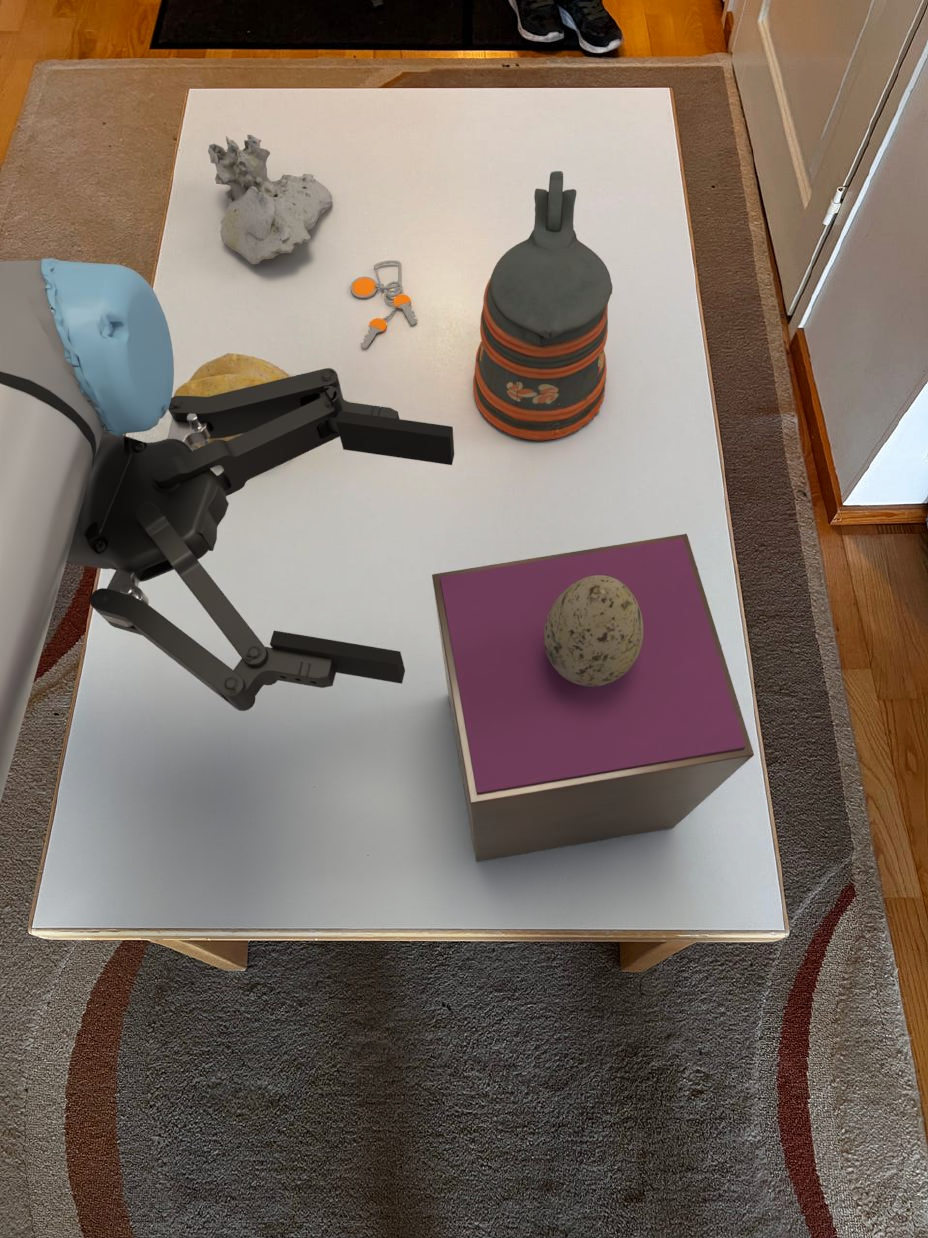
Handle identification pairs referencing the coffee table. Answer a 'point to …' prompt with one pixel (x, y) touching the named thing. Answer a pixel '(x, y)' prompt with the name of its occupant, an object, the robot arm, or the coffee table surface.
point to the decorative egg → (594, 631)
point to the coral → (264, 202)
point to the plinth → (588, 800)
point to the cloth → (574, 714)
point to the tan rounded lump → (229, 378)
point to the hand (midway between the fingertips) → (429, 551)
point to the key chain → (368, 288)
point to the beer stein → (544, 328)
